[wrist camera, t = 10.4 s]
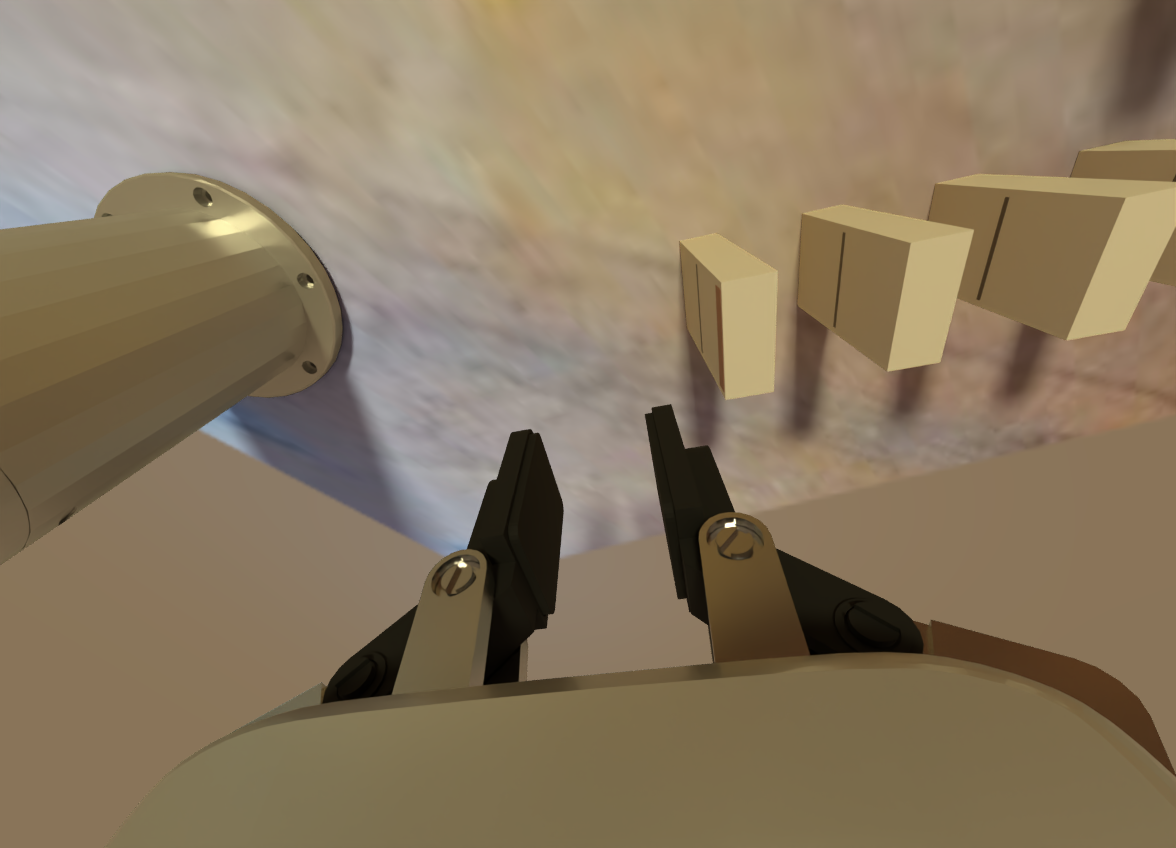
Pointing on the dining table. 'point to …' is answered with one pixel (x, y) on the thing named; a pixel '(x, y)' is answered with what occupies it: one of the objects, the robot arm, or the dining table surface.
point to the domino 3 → (1058, 246)
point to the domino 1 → (731, 313)
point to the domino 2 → (882, 281)
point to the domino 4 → (1136, 163)
